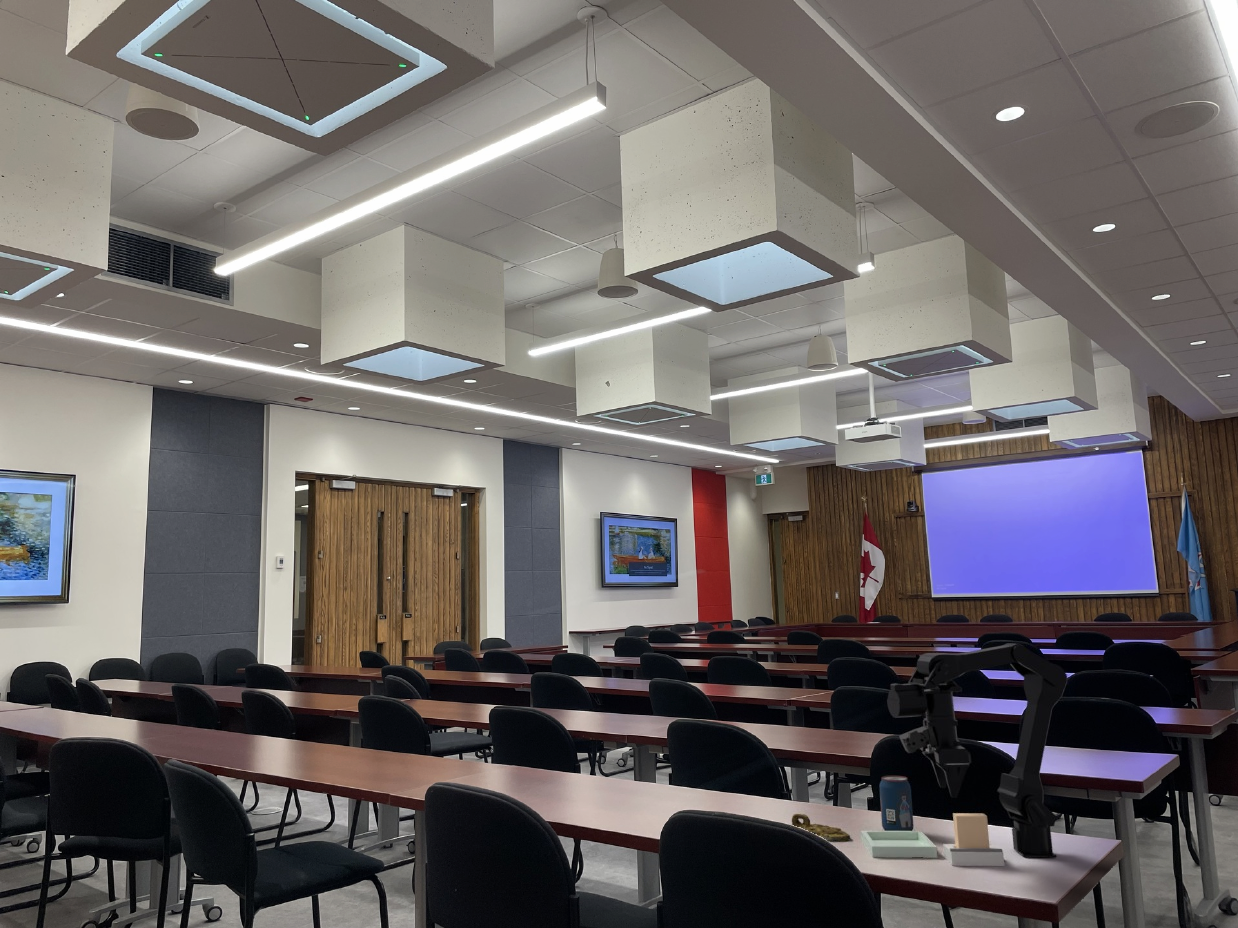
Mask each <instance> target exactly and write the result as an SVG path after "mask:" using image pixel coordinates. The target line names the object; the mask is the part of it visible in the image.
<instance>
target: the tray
mask: <svg viewBox="0 0 1238 928" xmlns="http://www.w3.org/2000/svg"><path fill="white" fill-rule="evenodd" d="M860 837H861V842H862V844H863V843H864V844H863V845H864V847H865V848H866V849H867V851H868V852H869V854H870V856H871V857H872V858H912V857H923V858H922V859H924V858H926V859H927V858H930V859H931V858H932V859H933V858H934V859H935V858H936V859H937V858H938V849H937V846H936V845H935V844H934V843H933V841H932V840H930V839H929V837H928V836H927V835H926V834H924V832H922V830H912V831H885V830H860Z"/></svg>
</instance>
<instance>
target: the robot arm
mask: <svg viewBox="0 0 1238 928" xmlns="http://www.w3.org/2000/svg"><path fill="white" fill-rule="evenodd" d="M1005 665H1010V666H1011V667H1012V668H1013V670H1014V671H1015V672H1016V673H1017V674H1019V675H1020V676H1021V677H1023V690H1024V694H1025V697H1026V700H1027V701H1026V707H1025V713H1024V718H1023V722H1022V727H1021V732H1020V736H1019V741H1018V748H1017V753H1016V758H1015V762H1014V766H1013V768H1012V770H1010V772H1009V773H1004V772H1002V773H1001V776H1000V784H999V787H998V788H997V790H996V792H997V793H999V802H1000V804H1001V805H1002V807H1003V808H1004V809H1005V810H1006V811H1007V814H1008V817H1009V818H1010V819H1013V827H1012V828H1011V833H1012V844H1013V845H1012V846H1013V850H1014V851H1016V852H1017V853H1018V854H1020V855H1021V856H1022V857H1024V858H1057V854H1056V853H1054V851H1053V842H1052V831H1051V830H1052V829H1051V827H1054V826H1055V824H1056V819H1057V815H1056V814H1055V813H1054V812H1053V811H1052V810H1050V808H1049V807H1048V806H1046V804H1044V788H1043V784H1042V781H1041V777H1040V773H1041V768H1042V762H1043V758H1044V753H1045V747H1046V742H1047V739H1048V738H1047V737H1048V732H1049V729H1050V724H1051V723H1050V722H1051V717H1052V712H1053V711H1052V710H1053V708H1054V706H1055V705H1056V704H1057V703H1058V702H1059V701H1060V699H1061V698H1062V697H1063V694H1064V692H1065V689H1066V687H1067V684H1068V674H1067V673H1066V671H1065V670H1064V669H1063V668H1062V667H1061V665H1058V664H1055V663H1052V662H1050V661H1049V660H1047V659H1046V658H1045V657H1044V658H1043V657H1042V656H1040V655H1038V654H1037V653H1035V652H1032V651H1031V650H1030V649H1029V648H1027V647H1026V646H1024V645H1023V644H1020V643H1005V644H1003V645H998V646H993V647H988V648H987V647H986V648H982V649H976V650H971V651H965V652H959V653H941V652H940V653H939V652H936V653H935V652H933V653H932V652H931V653H930V652H926V653H923V654H921V655H919V658H918V659H917V662H916V668H915V670H914V672H913V673H912V675H911V676H910V679H909V680H908V682H907V683H903V684H902V683H901V684H900V683H891V684H890V690H889V691H888V695H887V699H886V703H887V708H888V711H889V713H890V715H891V716H892V718H895V719H896V718H909V717H910V718H912V717H921V716H923V715H924V713H925V718H923V720H922V725H923V726H921V727H918V728H914V729H912V730H910V731H907V732H905V733H902V734H900V735H899V739H900V742H901V744H902V746H903V748H904V750H905V752H907V753H908V754H911V753H912V754H913V753H915V752H917V750H921V751H922V752H921V753H922V754H923V755H924V756H925V757H926V758H928V760H930V763H931V765H932V767H933V770H934V773H935V777H936V779H937V783H938V786H939V788H941V789H946V788H947V787H948V788H947V789H948V791H949V794H950V797H951V798H956V799H957V798H958V795H959V792H960V789H961V787H962V783H963V781H964V778H965V776H966V773H967V770H968V768H969V767H970V764H972V757H971V752H969V751H968V749H966V748H965V747H963V746H962V745H961V741H960V740H958V735H957V727H959V721H958V720H957V719H956V715H955V708H954V707H955V705H954V697H953V693H958V692H962V691H963V688H962V687H961V686H959V685H958V684H957V683H956V682H955V681H954V679H958V678H959V677H961V676H963V675H964V674H965V673H968V672H972V671H973V672H974V671H978V670H984V669H987V668H994V667H1000V666H1005Z"/></svg>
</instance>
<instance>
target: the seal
mask: <svg viewBox="0 0 1238 928" xmlns="http://www.w3.org/2000/svg"><path fill="white" fill-rule="evenodd" d="M800 820H802V821H803V822H801V821H800ZM791 825H794V826H797V827H801V828H803V829H805V830H808V831H809V832H812V833H814V834H817V835H818V836H821V837H823V838H824V839H826V840H827V841H830V843H831V842H835V843H836V842H838V843H839V842H848V841H851V835H850V834H849V833H847V832H846V831H843V830H842V829H841V828H839V827H833V826H832V827H831V826H829V825H828V824H827V825H824V824H817V823H812V824H811V819H810V817H809V816H808V815H807V814H802V813H794V814H793V815H792V817H791Z"/></svg>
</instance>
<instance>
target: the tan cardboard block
mask: <svg viewBox="0 0 1238 928" xmlns="http://www.w3.org/2000/svg"><path fill="white" fill-rule="evenodd" d="M952 817H953V828H954V829H953V831H954V842H955V843H954V844H955V845H956V848H983V849H990V846H989V844H990V836H989V828H988V825H989V824H988V816H987V815H986V814H985V813H978V812H977V813H976V812H975V813H972V812H971V813H969V812H967V813H963V812H962V813H960V812H959V813H958V812H956V813H954V812H953V813H952Z"/></svg>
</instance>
